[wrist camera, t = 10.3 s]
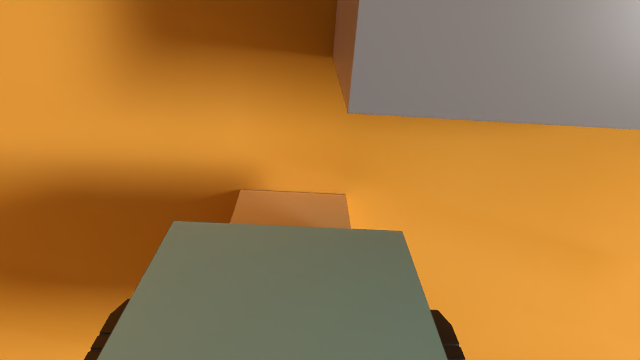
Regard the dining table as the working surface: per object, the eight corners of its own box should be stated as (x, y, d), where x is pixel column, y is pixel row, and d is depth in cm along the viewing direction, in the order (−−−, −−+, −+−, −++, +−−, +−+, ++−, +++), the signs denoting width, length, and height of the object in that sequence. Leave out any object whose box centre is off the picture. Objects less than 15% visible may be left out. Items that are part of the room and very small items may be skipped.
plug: (360, 298, 15) (399, 549, 9) (215, 292, 15) (140, 548, 8) (379, 168, 13) (454, 379, 6) (207, 159, 13) (91, 369, 6)
